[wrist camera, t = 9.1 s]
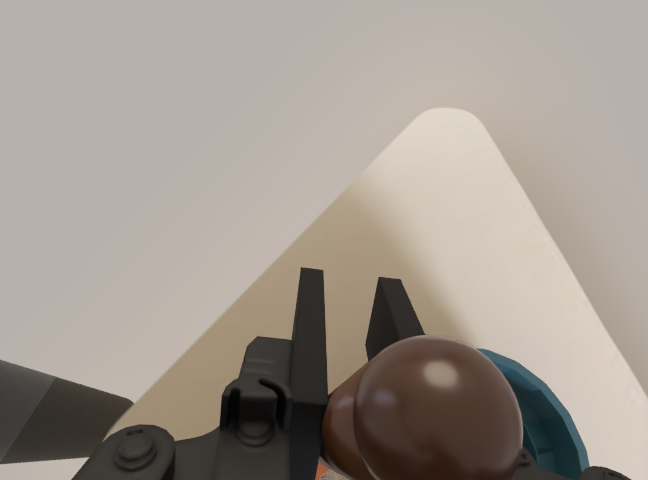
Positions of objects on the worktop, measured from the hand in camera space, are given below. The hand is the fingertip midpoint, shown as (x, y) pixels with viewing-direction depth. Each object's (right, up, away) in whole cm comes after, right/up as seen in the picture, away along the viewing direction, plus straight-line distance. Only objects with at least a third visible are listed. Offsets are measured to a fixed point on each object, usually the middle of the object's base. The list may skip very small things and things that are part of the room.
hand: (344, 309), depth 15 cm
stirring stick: (-1, -8, +8) cm, 11 cm away
